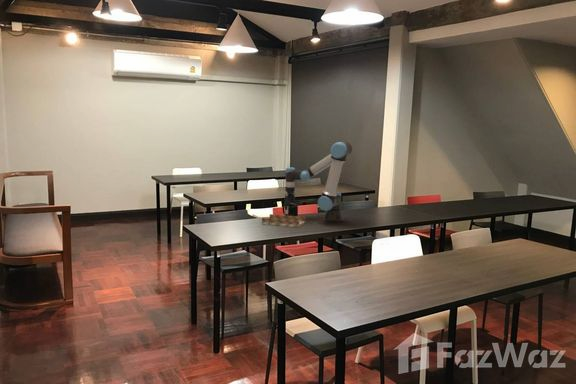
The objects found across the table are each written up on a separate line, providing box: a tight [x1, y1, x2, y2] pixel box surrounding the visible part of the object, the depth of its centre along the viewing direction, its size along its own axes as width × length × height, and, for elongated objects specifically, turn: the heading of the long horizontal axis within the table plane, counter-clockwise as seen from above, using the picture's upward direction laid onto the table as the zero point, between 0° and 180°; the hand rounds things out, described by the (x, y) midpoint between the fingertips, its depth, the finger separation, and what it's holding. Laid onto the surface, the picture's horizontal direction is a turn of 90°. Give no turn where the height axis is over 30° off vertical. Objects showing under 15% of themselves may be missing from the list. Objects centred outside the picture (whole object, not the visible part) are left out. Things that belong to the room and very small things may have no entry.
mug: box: [281, 203, 299, 216], centre depth 380 cm, size 11×15×12 cm
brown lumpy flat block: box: [261, 213, 306, 228], centre depth 363 cm, size 30×16×5 cm, turn 68°
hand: (289, 212), depth 380 cm, fingers open, 13 cm apart
